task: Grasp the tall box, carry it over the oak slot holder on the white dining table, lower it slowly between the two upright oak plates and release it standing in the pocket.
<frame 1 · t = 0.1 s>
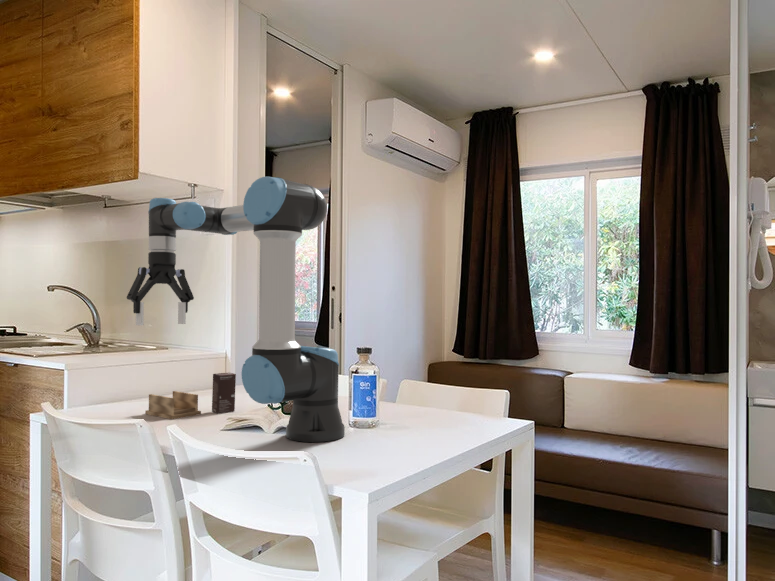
hand: (161, 324, 174), 28 cm above the table, fingers open, 13 cm apart
holder: (173, 414, 184), on the table
box: (223, 412, 188), on the table
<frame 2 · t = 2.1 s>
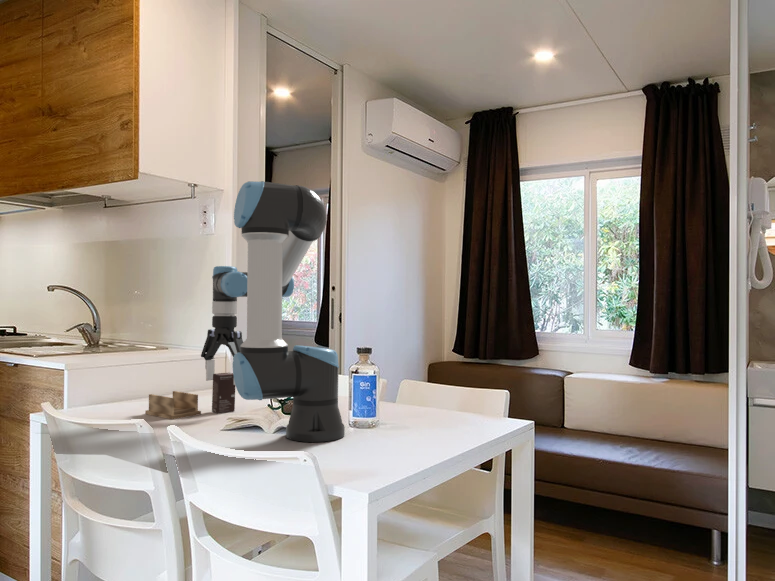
hand: (223, 382, 189), 9 cm above the table, fingers open, 13 cm apart
nothing on the table moved.
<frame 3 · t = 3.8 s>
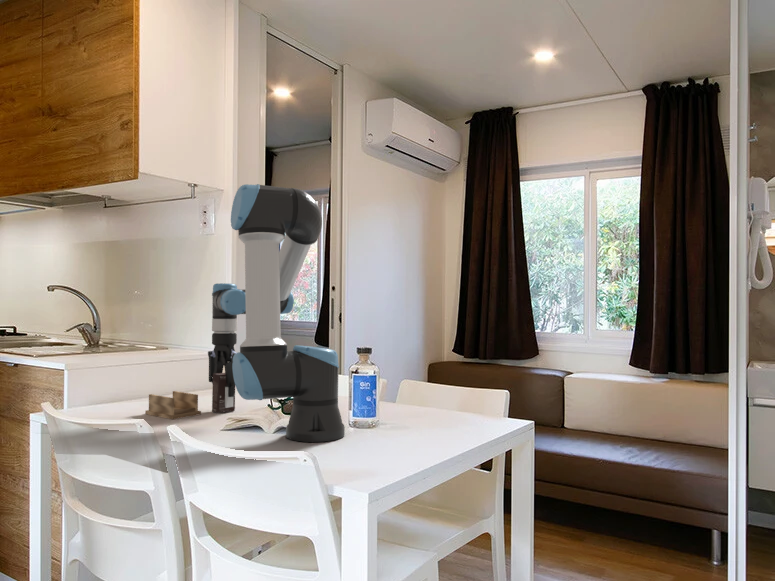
hand: (223, 406, 188), 2 cm above the table, fingers closed on box, 5 cm apart
box: (223, 412, 188), on the table, touching gripper
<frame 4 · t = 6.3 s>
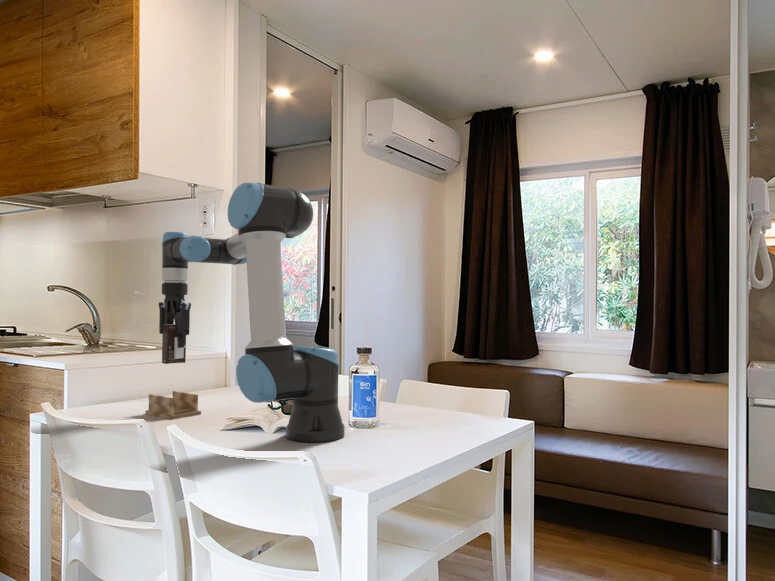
hand: (173, 357, 184), 17 cm above the table, fingers closed on box, 5 cm apart
box: (174, 363, 184), point 15 cm above the table, touching gripper
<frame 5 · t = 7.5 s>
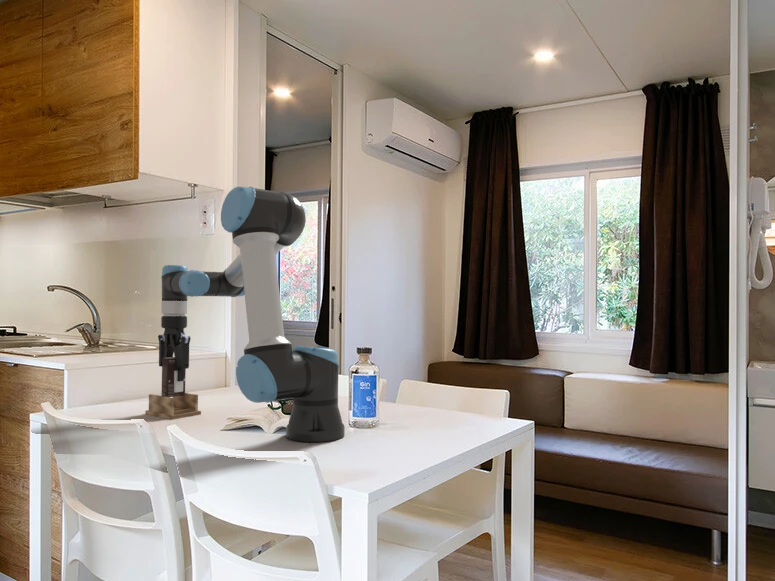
hand: (173, 390, 184), 7 cm above the table, fingers closed on box, 5 cm apart
box: (173, 397, 184), point 5 cm above the table, touching gripper
when the fingers open (5 cm above the table, at t = 8.6 s): box drops 2 cm, resting on holder.
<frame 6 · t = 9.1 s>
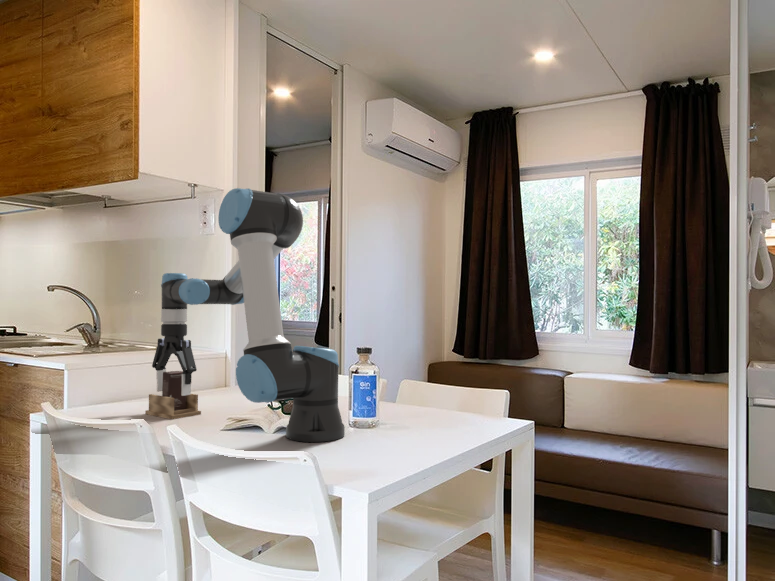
hand: (173, 393, 184), 6 cm above the table, fingers open, 12 cm apart
box: (174, 411, 184), point 1 cm above the table, touching holder
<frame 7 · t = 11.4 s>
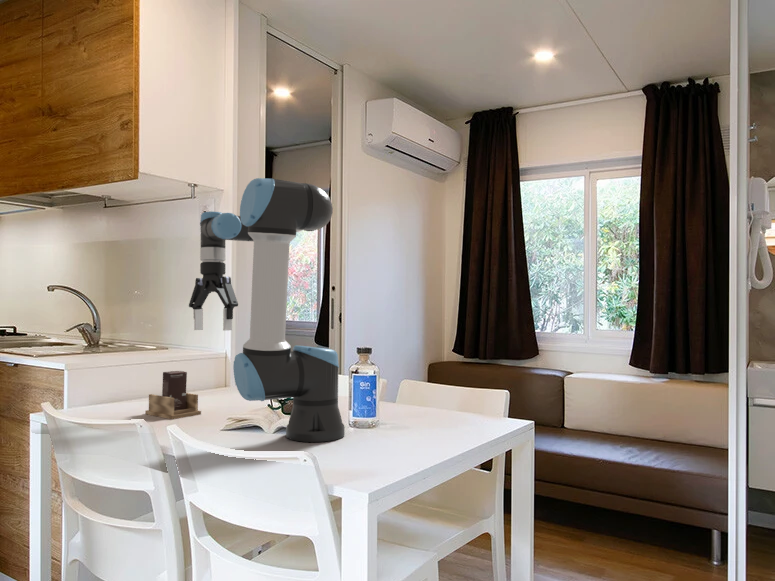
hand: (212, 330, 185), 26 cm above the table, fingers open, 13 cm apart
nothing on the table moved.
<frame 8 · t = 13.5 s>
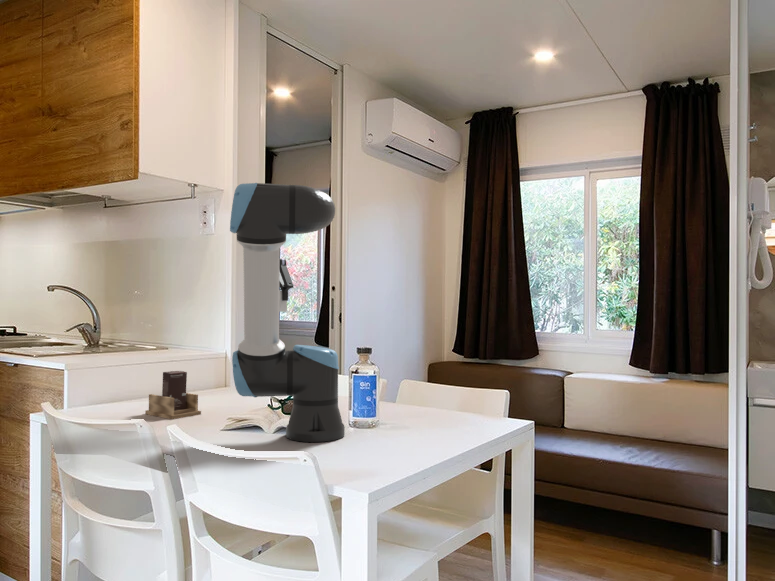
hand: (267, 311, 189), 32 cm above the table, fingers open, 13 cm apart
nothing on the table moved.
at the end: box inside the target area on the holder (0.3 cm from its centre), point 0.8 cm above the holder's base; box tilted 0°; the gripper is holding nothing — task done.
